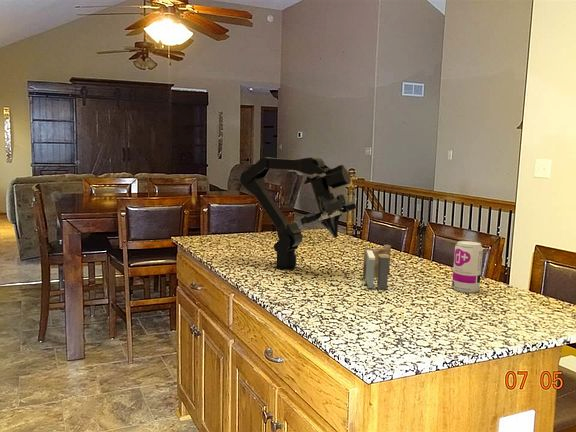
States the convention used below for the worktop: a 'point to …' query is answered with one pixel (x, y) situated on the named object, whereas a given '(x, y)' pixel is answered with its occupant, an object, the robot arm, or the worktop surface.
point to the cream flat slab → (370, 268)
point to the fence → (376, 259)
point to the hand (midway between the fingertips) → (335, 237)
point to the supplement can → (467, 266)
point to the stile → (383, 271)
